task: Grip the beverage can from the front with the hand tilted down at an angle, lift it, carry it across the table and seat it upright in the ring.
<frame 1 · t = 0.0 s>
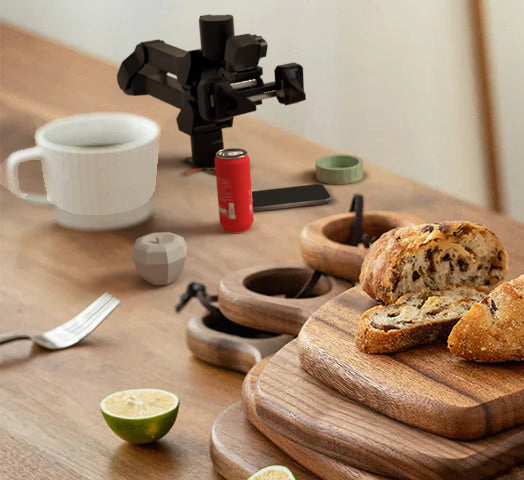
hand: (280, 102, 168), 17 cm above the table, tool horizontal, fingers open, 9 cm apart
smartphone: (283, 200, 177), on the table
ring: (339, 176, 186), on the table
beverage can: (237, 228, 167), on the table
necklace: (217, 171, 191), on the table, touching arm
apple: (163, 281, 150), on the table
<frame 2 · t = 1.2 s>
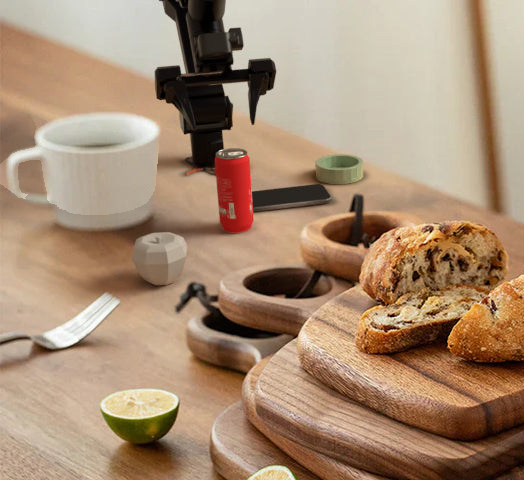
hand: (224, 126, 167), 14 cm above the table, tool tilted 45°, fingers open, 9 cm apart
nothing on the table moved.
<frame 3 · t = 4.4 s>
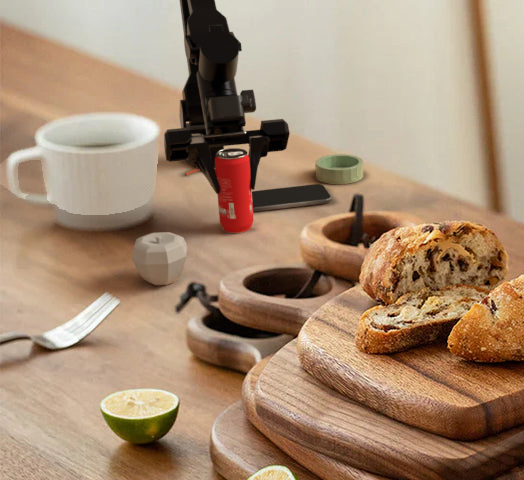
hand: (235, 190, 162), 7 cm above the table, tool tilted 45°, fingers closed on beverage can, 5 cm apart
beverage can: (237, 228, 167), on the table, touching gripper
everything else where it was.
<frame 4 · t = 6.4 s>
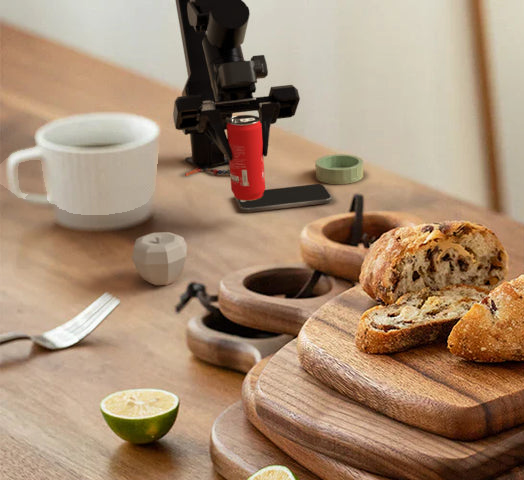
hand: (248, 157, 161), 11 cm above the table, tool tilted 45°, fingers closed on beverage can, 5 cm apart
beverage can: (248, 196, 166), point 5 cm above the table, touching gripper
everything else where it was.
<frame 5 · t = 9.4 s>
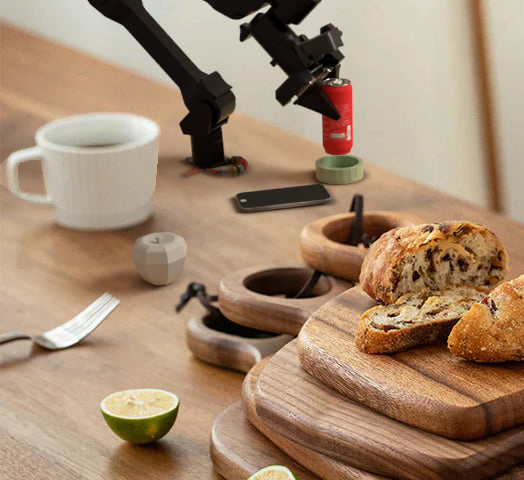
hand: (344, 114, 181), 11 cm above the table, tool tilted 45°, fingers closed on beverage can, 5 cm apart
beverage can: (337, 152, 185), point 4 cm above the table, touching gripper
everything else where it was.
when the fingers open (7 cm above the table, at t = 11.0 s): beverage can stays where it is, resting on ring.
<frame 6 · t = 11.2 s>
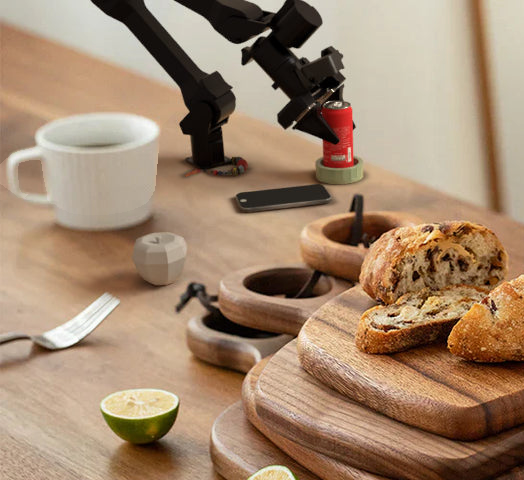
hand: (346, 136, 183), 7 cm above the table, tool tilted 45°, fingers open, 7 cm apart
beverage can: (338, 173, 186), resting on ring
necklace: (216, 172, 190), on the table
everything else where it was.
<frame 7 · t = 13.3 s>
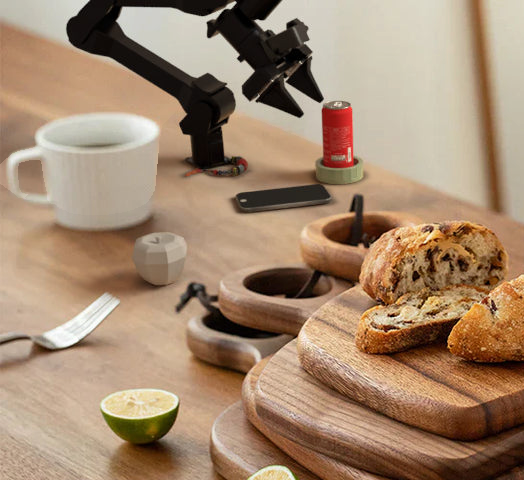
hand: (312, 108, 182), 12 cm above the table, tool tilted 45°, fingers open, 9 cm apart
necklace: (216, 172, 190), on the table, touching arm
everything else where it was.
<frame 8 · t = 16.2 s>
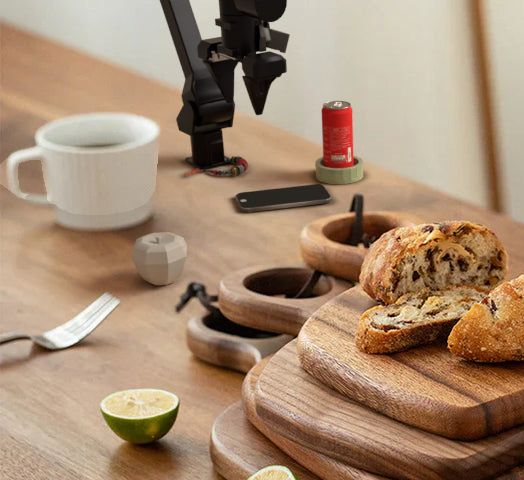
hand: (244, 108, 178), 13 cm above the table, tool pointing down, fingers open, 9 cm apart
nothing on the table moved.
at the end: beverage can 0.1 cm off-centre in the ring, point 0.4 cm above the ring's base; beverage can tilted 0°; the gripper is holding nothing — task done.
